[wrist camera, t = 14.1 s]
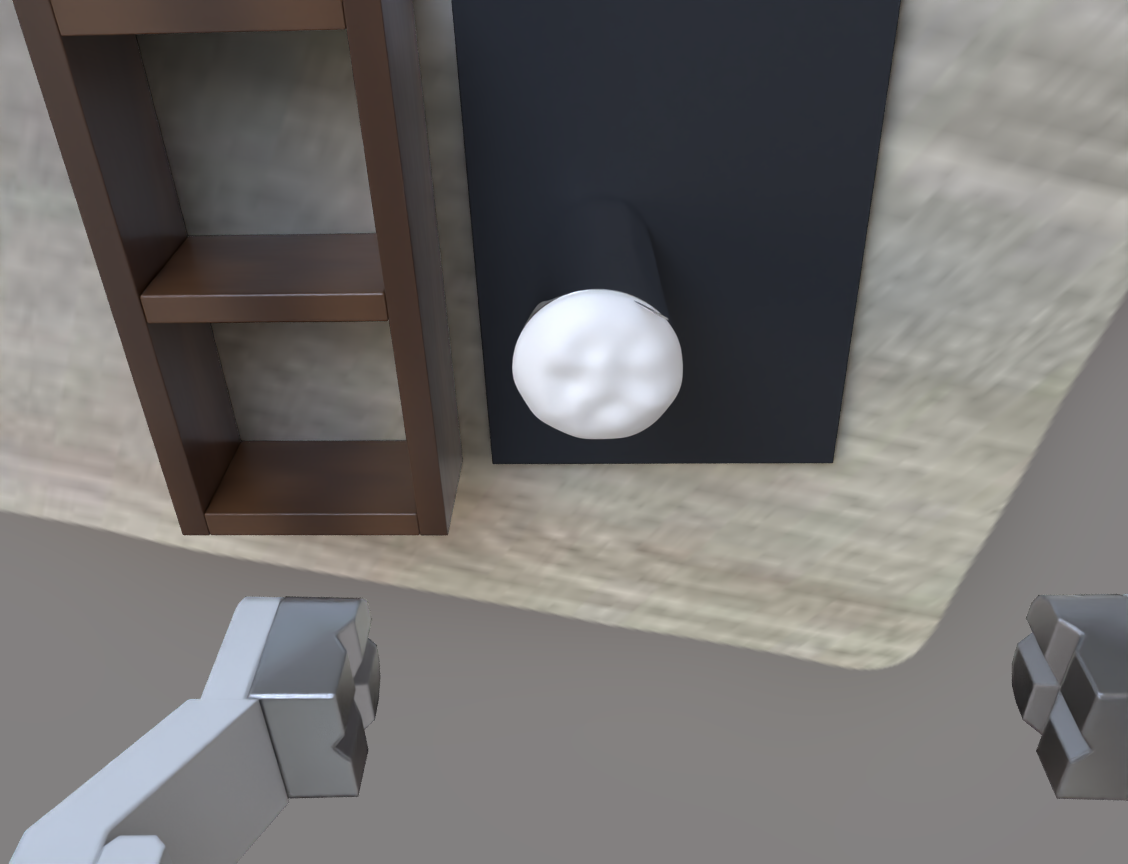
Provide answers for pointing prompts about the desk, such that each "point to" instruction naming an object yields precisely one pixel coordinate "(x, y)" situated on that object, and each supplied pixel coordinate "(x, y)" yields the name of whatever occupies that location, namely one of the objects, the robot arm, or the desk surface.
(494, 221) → the mouse pad
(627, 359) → the milkshake
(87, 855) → the robot arm
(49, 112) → the caddy
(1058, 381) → the desk surface
